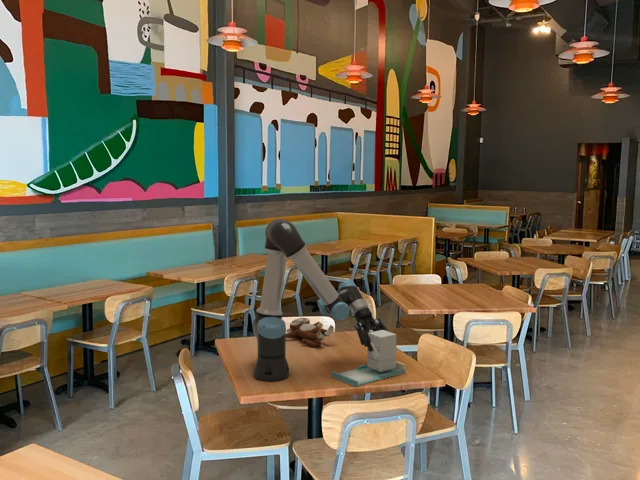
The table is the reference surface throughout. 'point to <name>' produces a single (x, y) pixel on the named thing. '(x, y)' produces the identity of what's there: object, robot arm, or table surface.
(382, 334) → the supplement box
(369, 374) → the teal flat tray
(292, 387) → the table surface
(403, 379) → the table surface
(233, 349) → the table surface
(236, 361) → the table surface
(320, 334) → the toy
